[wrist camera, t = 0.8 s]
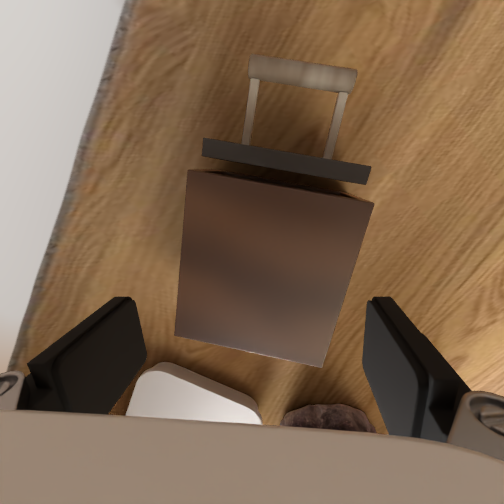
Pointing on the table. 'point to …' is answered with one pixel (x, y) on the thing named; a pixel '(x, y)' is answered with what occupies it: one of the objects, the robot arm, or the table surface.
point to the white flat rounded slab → (189, 397)
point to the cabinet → (266, 263)
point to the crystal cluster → (329, 418)
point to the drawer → (323, 167)
